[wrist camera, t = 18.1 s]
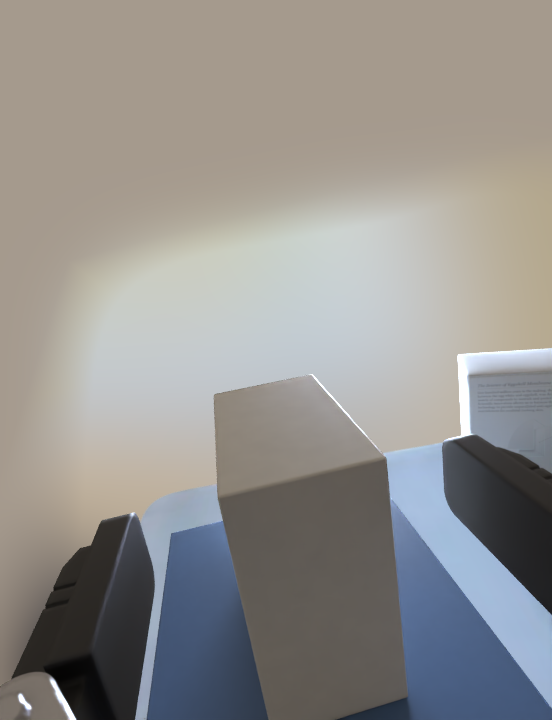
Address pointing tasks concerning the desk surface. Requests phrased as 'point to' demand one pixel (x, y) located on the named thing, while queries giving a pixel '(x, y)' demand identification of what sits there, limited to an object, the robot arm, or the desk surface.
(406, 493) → the desk surface
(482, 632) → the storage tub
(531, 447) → the cosmetics box
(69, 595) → the robot arm
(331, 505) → the white case
